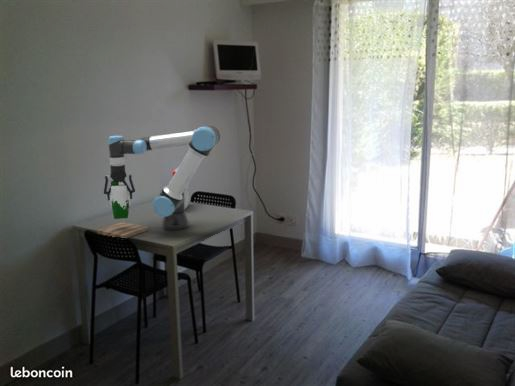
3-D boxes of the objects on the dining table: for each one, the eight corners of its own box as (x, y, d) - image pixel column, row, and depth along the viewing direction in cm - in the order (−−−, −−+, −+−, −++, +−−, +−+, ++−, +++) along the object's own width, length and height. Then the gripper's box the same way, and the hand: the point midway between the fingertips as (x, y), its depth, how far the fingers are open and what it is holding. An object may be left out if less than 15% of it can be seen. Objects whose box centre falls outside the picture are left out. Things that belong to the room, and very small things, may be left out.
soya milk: (113, 215, 250) (110, 180, 245) (130, 214, 252) (127, 179, 248) (112, 219, 241) (109, 183, 237) (129, 218, 243) (127, 182, 239)
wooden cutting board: (147, 230, 251) (147, 227, 250) (122, 239, 236) (122, 235, 235) (122, 225, 261) (122, 222, 261) (97, 233, 246) (97, 230, 246)
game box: (181, 205, 308) (179, 166, 302) (189, 205, 308) (187, 166, 302) (174, 212, 288) (172, 171, 282) (182, 212, 288) (180, 171, 282)
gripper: (138, 163, 246) (141, 202, 251) (97, 164, 242) (100, 205, 246) (138, 165, 239) (140, 205, 244) (95, 166, 234) (99, 208, 239)
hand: (120, 205), depth 245 cm, fingers closed on soya milk, 9 cm apart
